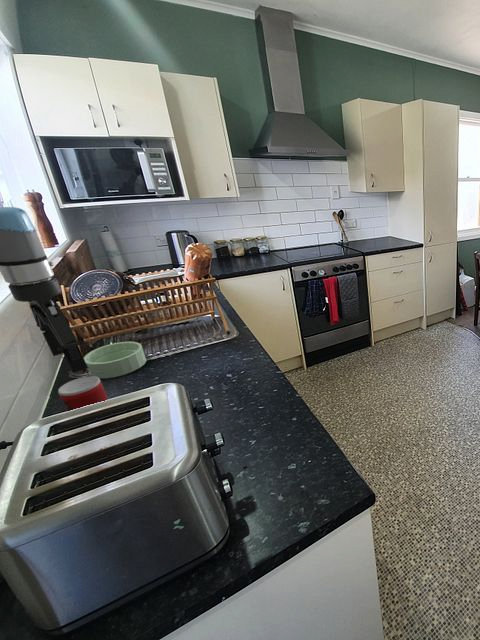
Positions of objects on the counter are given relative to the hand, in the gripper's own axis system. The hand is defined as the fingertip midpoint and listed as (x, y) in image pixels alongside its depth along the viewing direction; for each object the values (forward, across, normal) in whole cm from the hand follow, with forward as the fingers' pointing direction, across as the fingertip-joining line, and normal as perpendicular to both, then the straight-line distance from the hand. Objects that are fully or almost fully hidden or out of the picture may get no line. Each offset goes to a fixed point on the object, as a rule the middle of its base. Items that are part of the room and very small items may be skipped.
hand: (70, 361), depth 86 cm
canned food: (+18, 0, 0) cm, 18 cm away
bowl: (+18, +24, -14) cm, 33 cm away
